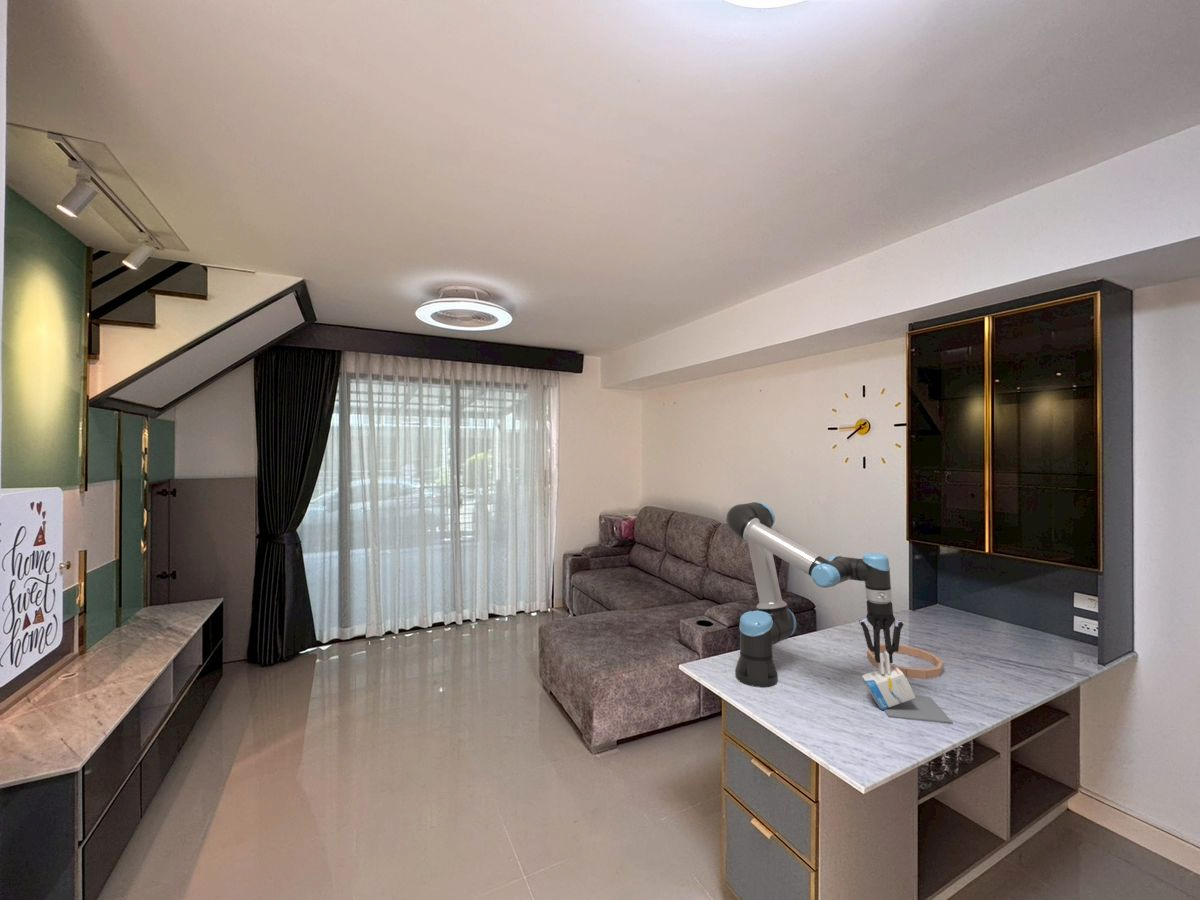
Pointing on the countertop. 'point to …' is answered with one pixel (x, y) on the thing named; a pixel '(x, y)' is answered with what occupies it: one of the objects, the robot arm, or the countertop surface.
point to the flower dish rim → (911, 671)
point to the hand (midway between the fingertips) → (884, 672)
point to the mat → (918, 710)
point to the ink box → (888, 687)
